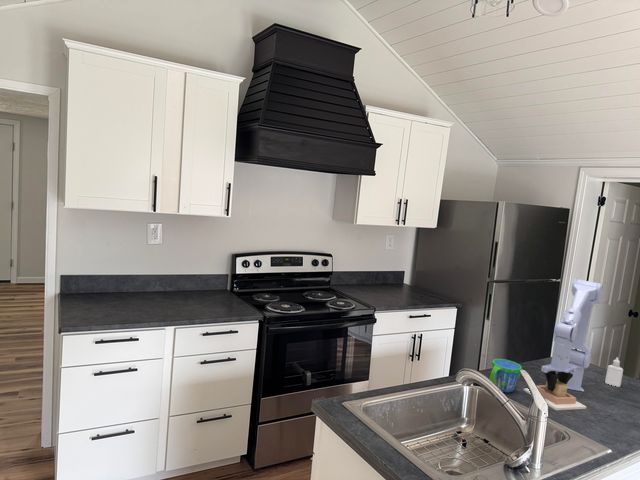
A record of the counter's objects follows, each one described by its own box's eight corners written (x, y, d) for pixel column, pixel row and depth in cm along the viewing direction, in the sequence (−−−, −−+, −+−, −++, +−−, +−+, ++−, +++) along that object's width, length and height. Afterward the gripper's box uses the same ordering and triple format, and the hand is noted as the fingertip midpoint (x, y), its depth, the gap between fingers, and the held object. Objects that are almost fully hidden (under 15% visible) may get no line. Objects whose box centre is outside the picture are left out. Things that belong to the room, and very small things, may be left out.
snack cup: (498, 397, 169) (503, 370, 168) (477, 384, 178) (481, 359, 177) (528, 393, 175) (532, 367, 174) (506, 381, 185) (510, 357, 184)
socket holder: (523, 390, 177) (524, 383, 177) (552, 389, 182) (553, 382, 181) (555, 410, 162) (557, 402, 162) (586, 408, 167) (587, 400, 166)
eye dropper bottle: (616, 388, 191) (621, 360, 190) (602, 382, 196) (607, 355, 195) (622, 387, 193) (627, 359, 192) (609, 381, 198) (613, 355, 197)
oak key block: (544, 391, 174) (546, 378, 173) (552, 391, 175) (555, 378, 175) (557, 398, 168) (559, 385, 168) (565, 398, 169) (567, 385, 169)
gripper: (554, 359, 164) (548, 395, 166) (585, 359, 169) (579, 394, 170) (539, 352, 171) (533, 387, 172) (569, 352, 175) (564, 386, 177)
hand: (555, 390), depth 172 cm, fingers closed on oak key block, 4 cm apart
